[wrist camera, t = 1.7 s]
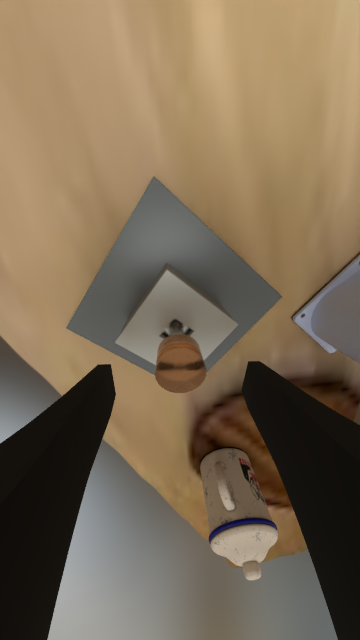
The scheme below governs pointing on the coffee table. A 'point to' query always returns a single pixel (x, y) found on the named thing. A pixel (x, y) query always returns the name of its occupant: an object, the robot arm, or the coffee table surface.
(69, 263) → the coffee table surface
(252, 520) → the teacup with lid
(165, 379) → the plunger
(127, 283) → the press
